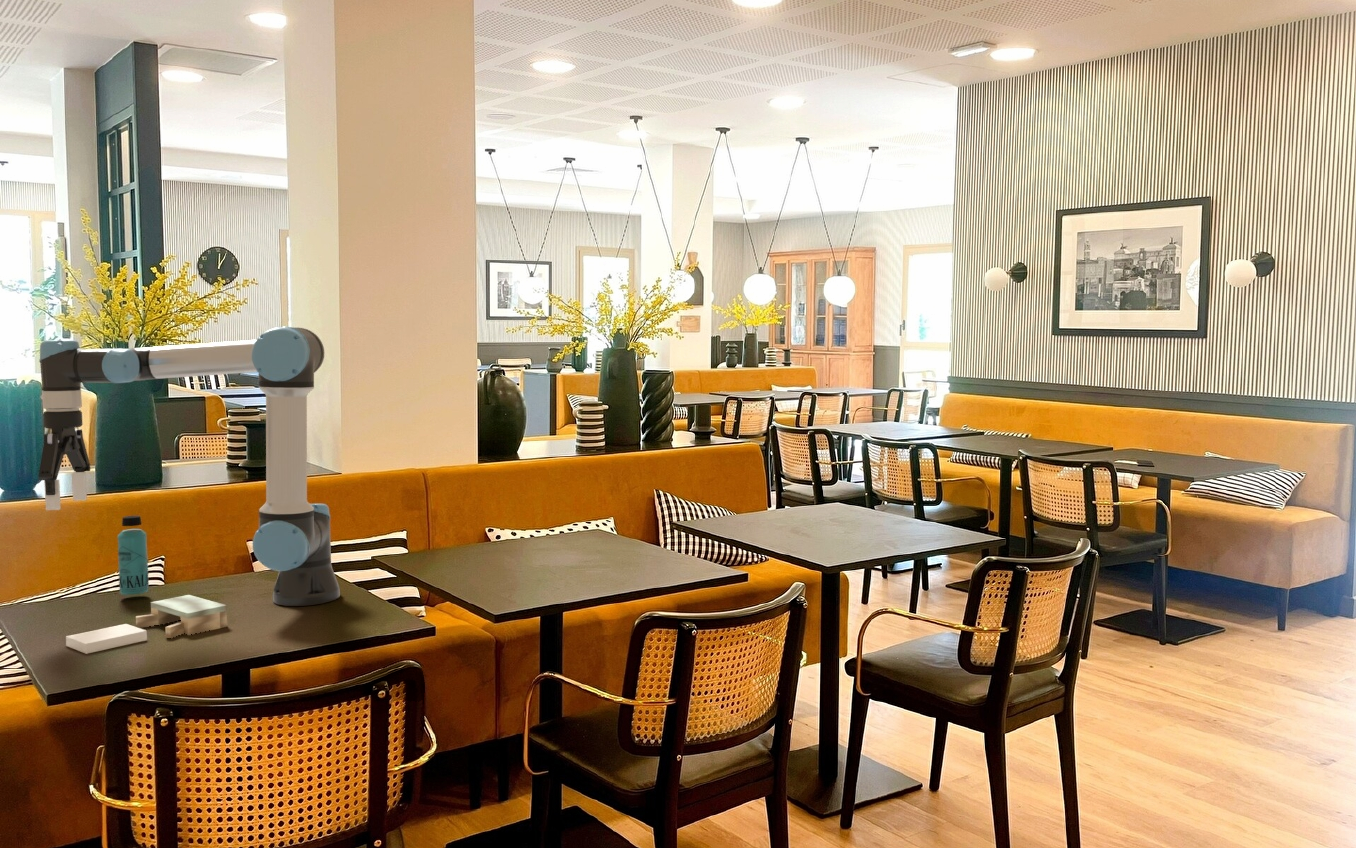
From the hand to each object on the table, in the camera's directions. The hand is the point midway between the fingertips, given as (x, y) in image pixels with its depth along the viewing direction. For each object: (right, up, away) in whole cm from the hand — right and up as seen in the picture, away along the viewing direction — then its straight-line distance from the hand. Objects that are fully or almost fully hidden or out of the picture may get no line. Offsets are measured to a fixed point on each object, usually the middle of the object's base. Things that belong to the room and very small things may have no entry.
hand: (67, 505), depth 236 cm
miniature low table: (+28, -26, -6) cm, 39 cm away
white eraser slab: (+19, -27, -18) cm, 38 cm away
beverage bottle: (+5, -24, +20) cm, 32 cm away
